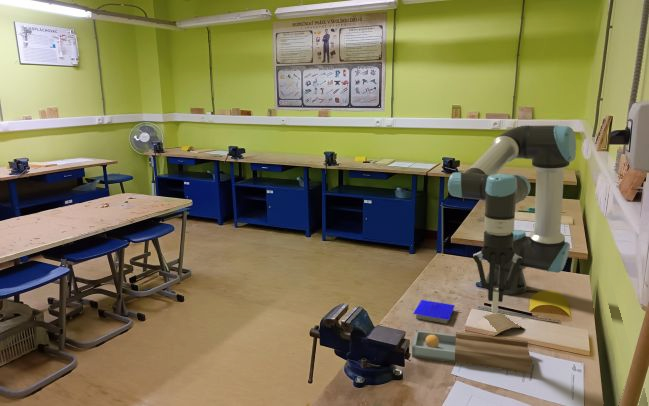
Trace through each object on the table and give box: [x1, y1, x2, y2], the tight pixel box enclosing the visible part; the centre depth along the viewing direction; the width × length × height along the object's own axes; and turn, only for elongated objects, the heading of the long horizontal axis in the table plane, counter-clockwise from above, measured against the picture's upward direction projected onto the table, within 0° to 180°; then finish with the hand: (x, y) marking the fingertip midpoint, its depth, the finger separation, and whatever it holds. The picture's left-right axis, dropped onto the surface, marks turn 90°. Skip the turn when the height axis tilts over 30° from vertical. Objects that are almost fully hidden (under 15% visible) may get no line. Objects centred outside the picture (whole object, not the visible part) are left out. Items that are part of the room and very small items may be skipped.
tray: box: [411, 329, 456, 364], centre depth 132 cm, size 10×12×3 cm
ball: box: [425, 335, 439, 348], centre depth 132 cm, size 4×4×4 cm
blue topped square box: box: [413, 299, 455, 324], centre depth 155 cm, size 12×12×5 cm
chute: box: [455, 332, 533, 374], centre depth 127 cm, size 10×20×4 cm, turn 72°
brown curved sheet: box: [483, 313, 521, 337], centre depth 146 cm, size 14×10×3 cm
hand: (494, 311), depth 125 cm, fingers closed
